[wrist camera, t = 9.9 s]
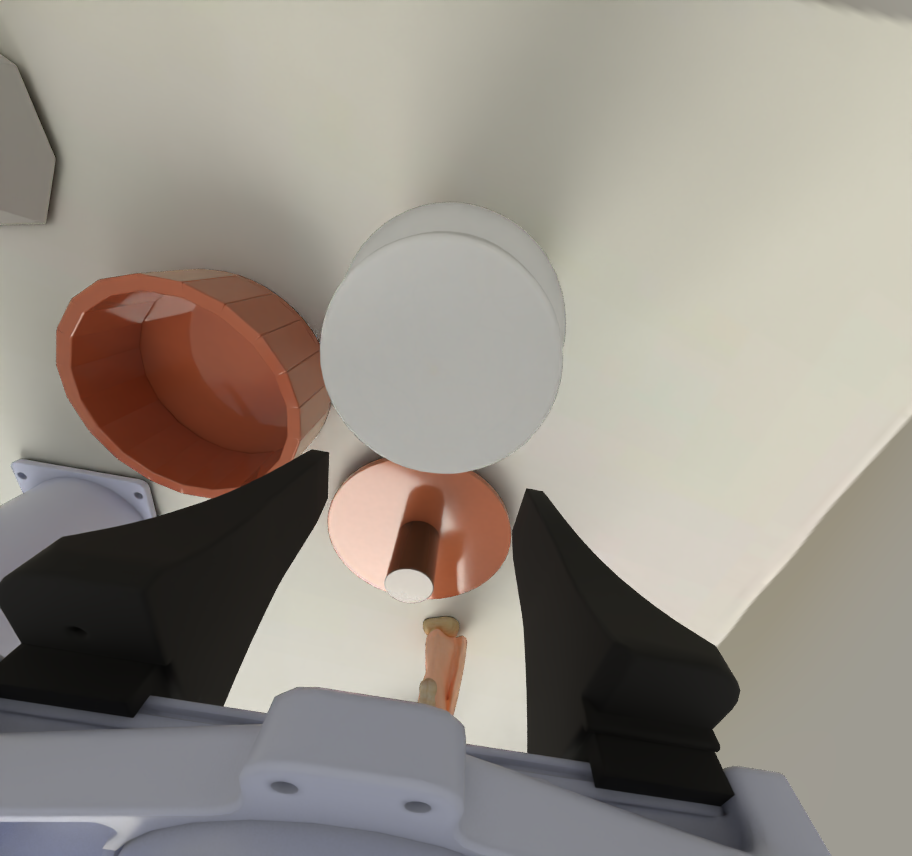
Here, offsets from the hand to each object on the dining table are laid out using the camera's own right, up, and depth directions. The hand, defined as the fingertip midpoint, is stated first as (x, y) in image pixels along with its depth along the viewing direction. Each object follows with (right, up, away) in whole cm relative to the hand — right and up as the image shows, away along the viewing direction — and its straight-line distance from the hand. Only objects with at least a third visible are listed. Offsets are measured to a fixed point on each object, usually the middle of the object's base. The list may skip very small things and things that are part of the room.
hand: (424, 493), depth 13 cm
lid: (-1, -4, +9) cm, 10 cm away
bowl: (-10, +5, +6) cm, 13 cm away
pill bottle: (+1, +8, +4) cm, 9 cm away
